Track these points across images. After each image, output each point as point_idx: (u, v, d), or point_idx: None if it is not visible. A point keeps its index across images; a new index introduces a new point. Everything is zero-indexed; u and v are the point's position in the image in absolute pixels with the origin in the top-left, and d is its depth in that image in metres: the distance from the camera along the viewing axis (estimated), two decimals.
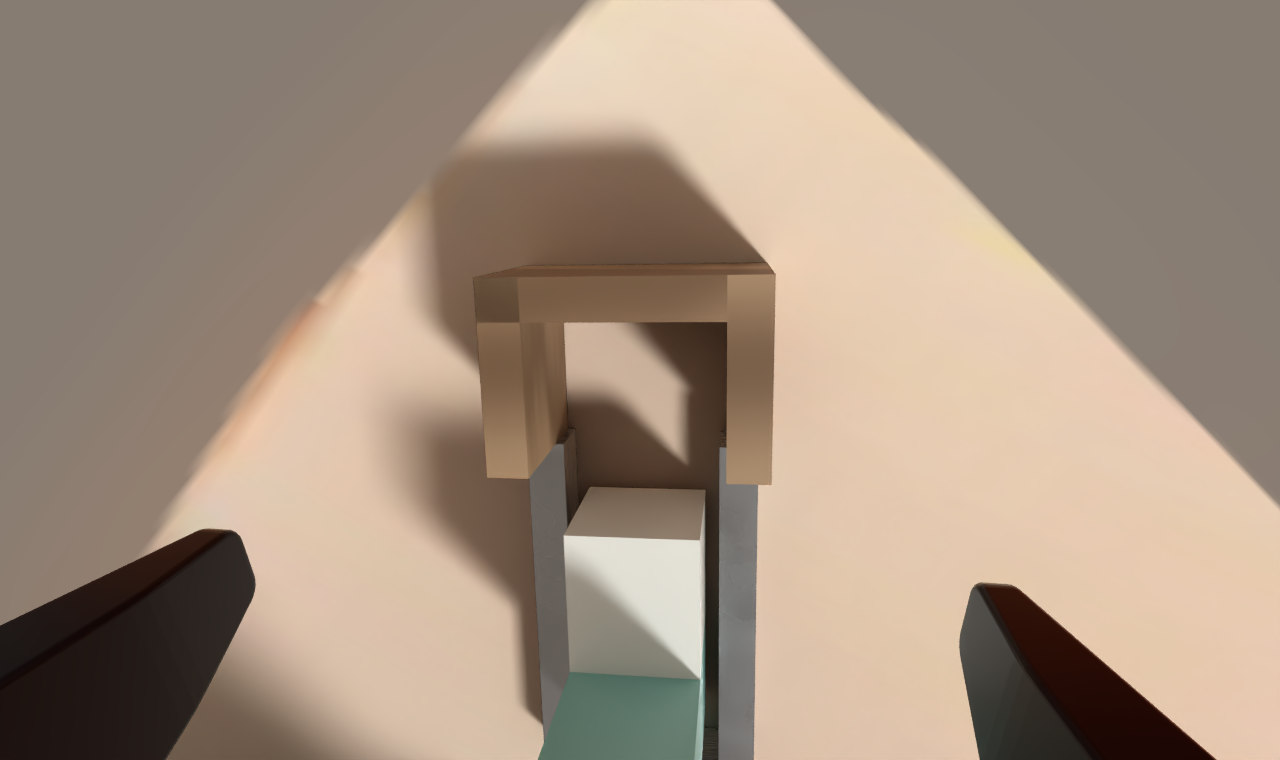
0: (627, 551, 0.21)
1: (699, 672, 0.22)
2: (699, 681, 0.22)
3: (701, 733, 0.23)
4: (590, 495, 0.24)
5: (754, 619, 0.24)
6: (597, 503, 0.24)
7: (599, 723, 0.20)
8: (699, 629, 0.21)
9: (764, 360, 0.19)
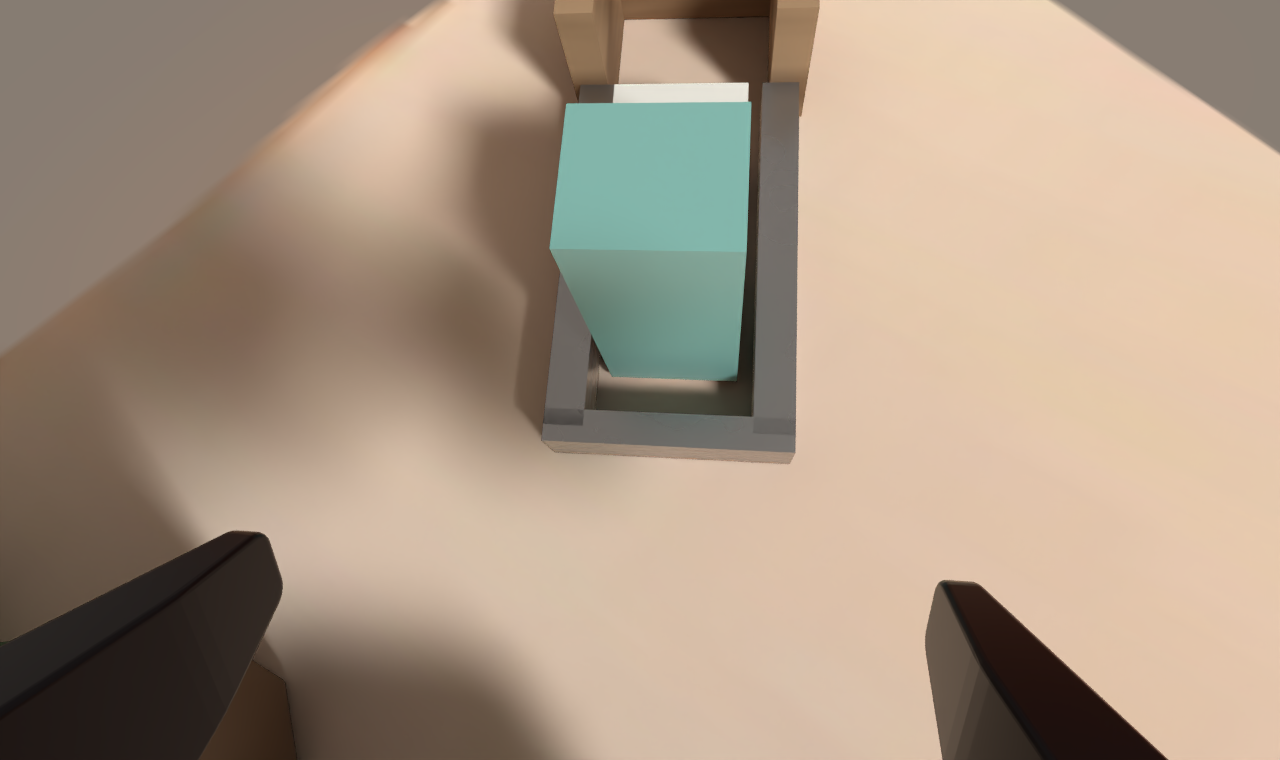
0: (676, 95, 0.22)
1: None
2: None
3: None
4: None
5: (796, 241, 0.22)
6: None
7: None
8: None
9: None
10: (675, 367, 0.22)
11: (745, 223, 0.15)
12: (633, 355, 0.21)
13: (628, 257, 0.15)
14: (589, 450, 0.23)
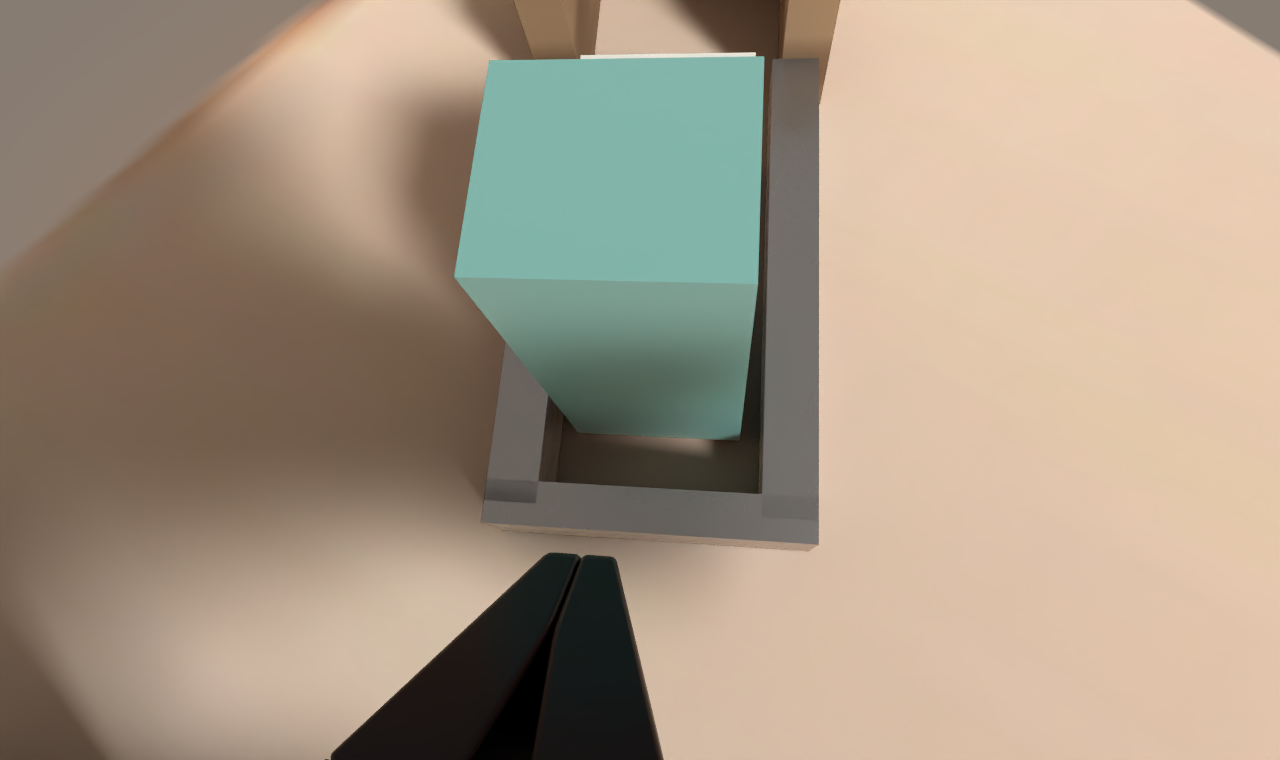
0: None
1: None
2: None
3: None
4: None
5: (817, 260, 0.17)
6: None
7: None
8: None
9: None
10: (659, 424, 0.17)
11: (756, 239, 0.09)
12: (602, 410, 0.16)
13: (576, 290, 0.10)
14: (547, 531, 0.17)
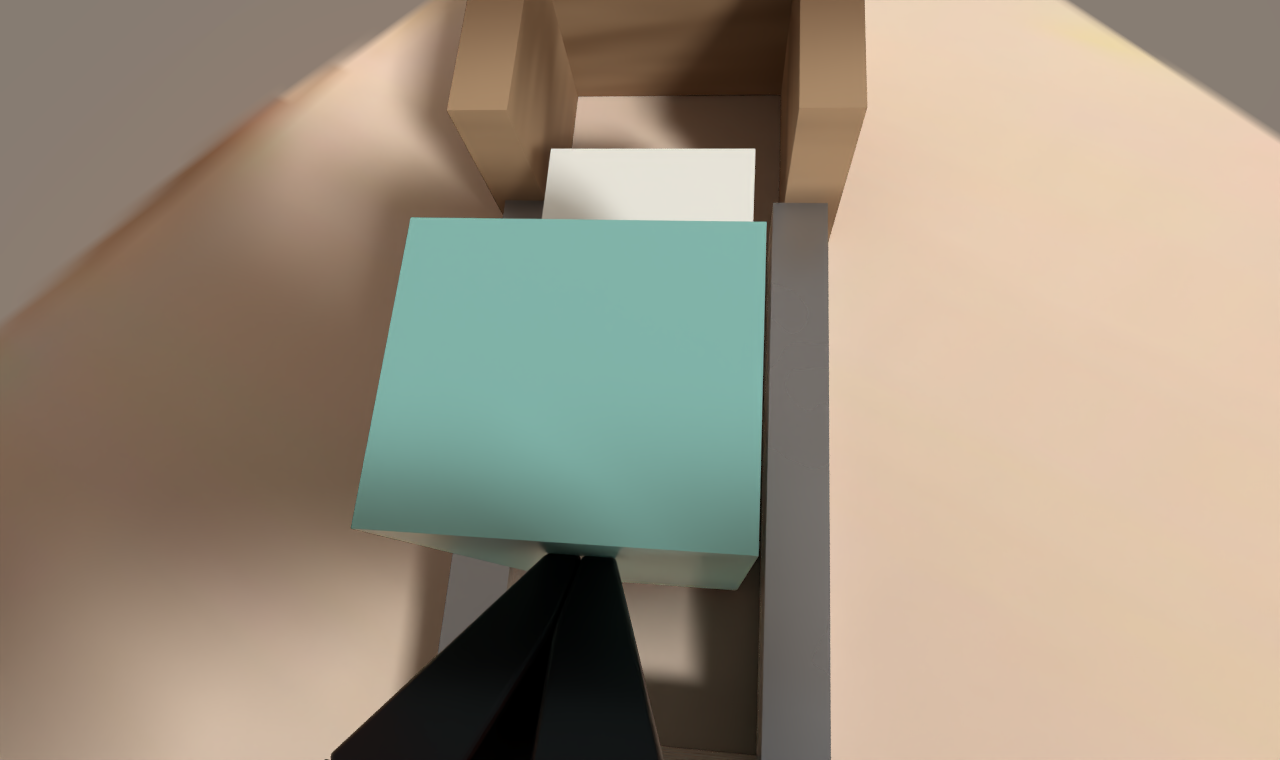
0: (644, 166, 0.14)
1: None
2: None
3: None
4: None
5: (827, 462, 0.14)
6: None
7: None
8: None
9: None
10: (642, 581, 0.14)
11: (755, 489, 0.07)
12: None
13: (516, 542, 0.07)
14: None
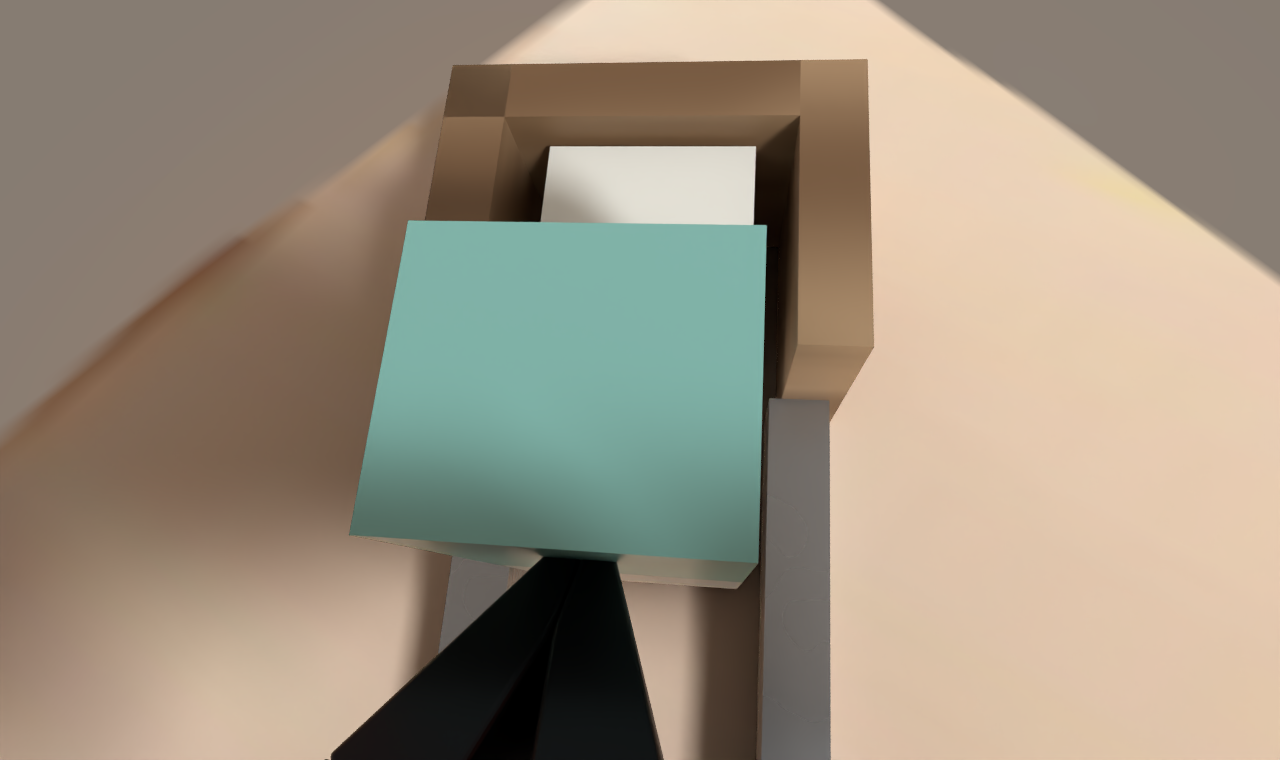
0: (644, 165, 0.14)
1: None
2: None
3: None
4: None
5: (828, 716, 0.13)
6: None
7: None
8: None
9: (856, 163, 0.13)
10: (642, 580, 0.14)
11: (755, 495, 0.07)
12: None
13: (514, 548, 0.07)
14: None
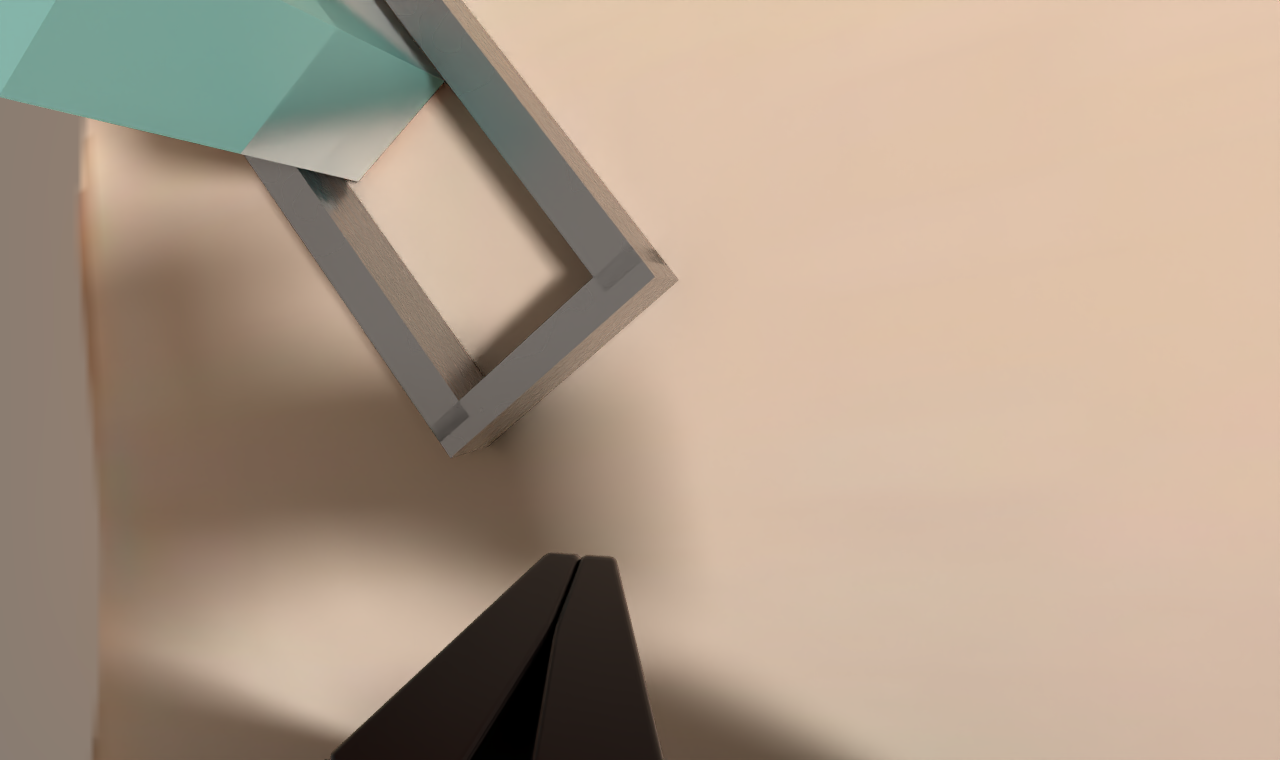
0: None
1: None
2: None
3: (328, 0, 0.17)
4: None
5: (492, 69, 0.18)
6: None
7: None
8: None
9: None
10: (373, 118, 0.20)
11: None
12: (317, 141, 0.19)
13: (60, 35, 0.13)
14: (505, 424, 0.20)
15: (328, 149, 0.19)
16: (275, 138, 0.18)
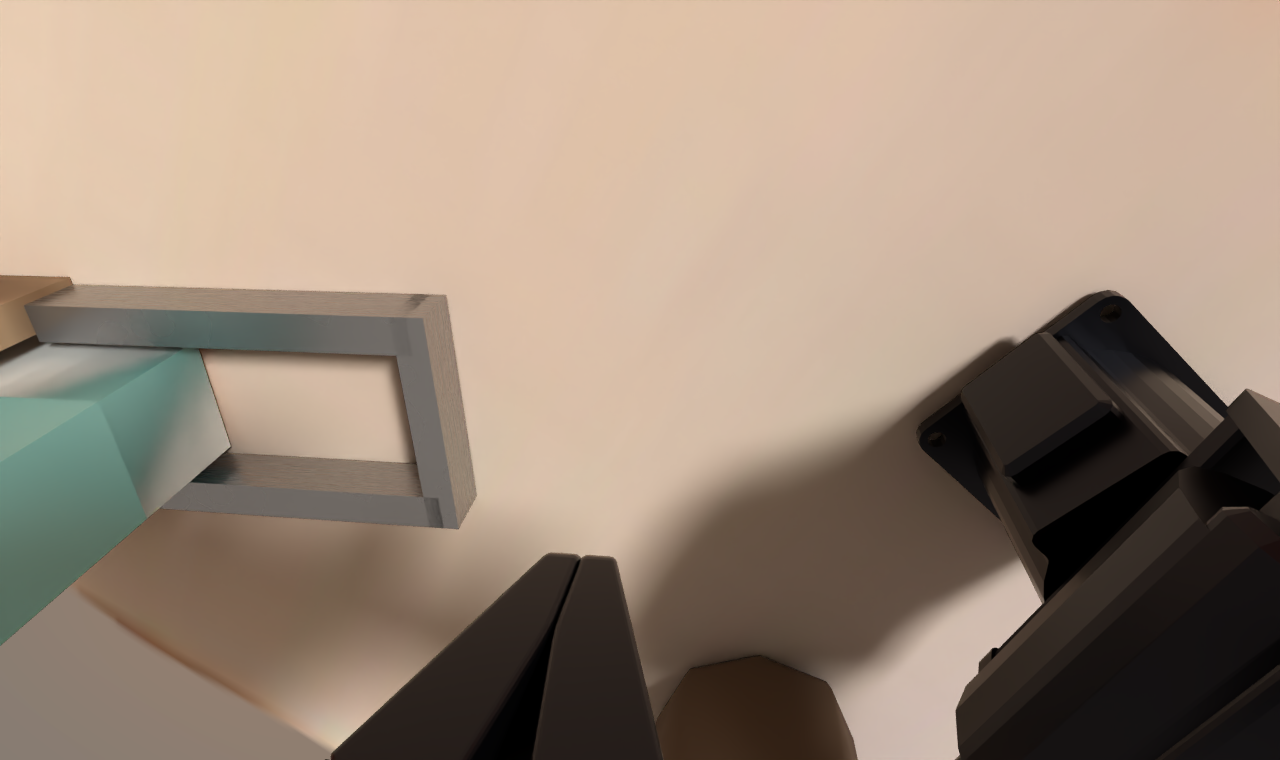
0: None
1: None
2: None
3: (75, 389, 0.20)
4: None
5: (203, 312, 0.21)
6: None
7: None
8: None
9: None
10: (187, 410, 0.23)
11: None
12: (177, 459, 0.23)
13: None
14: (466, 476, 0.24)
15: (189, 455, 0.23)
16: (152, 488, 0.22)
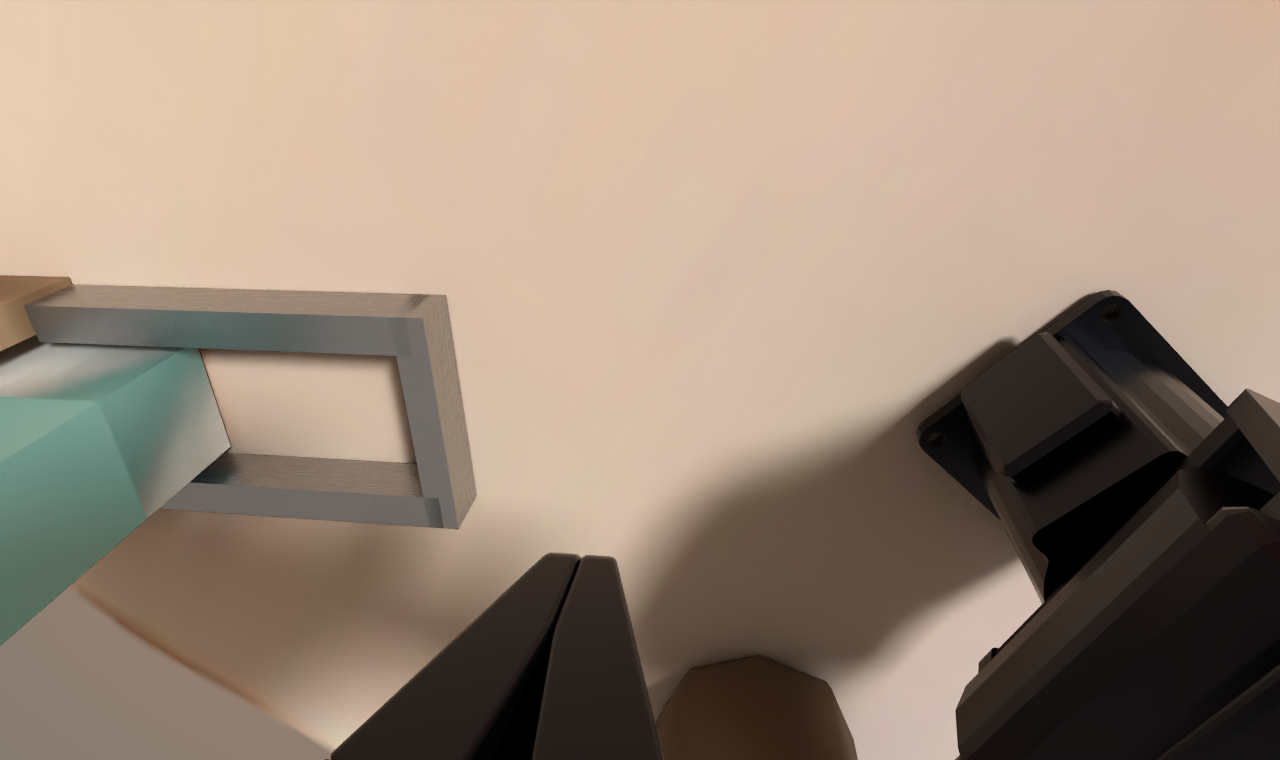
0: None
1: None
2: None
3: (75, 389, 0.20)
4: None
5: (203, 312, 0.21)
6: None
7: None
8: None
9: None
10: (187, 410, 0.23)
11: None
12: (177, 459, 0.23)
13: None
14: (466, 476, 0.24)
15: (188, 455, 0.23)
16: (152, 488, 0.22)
